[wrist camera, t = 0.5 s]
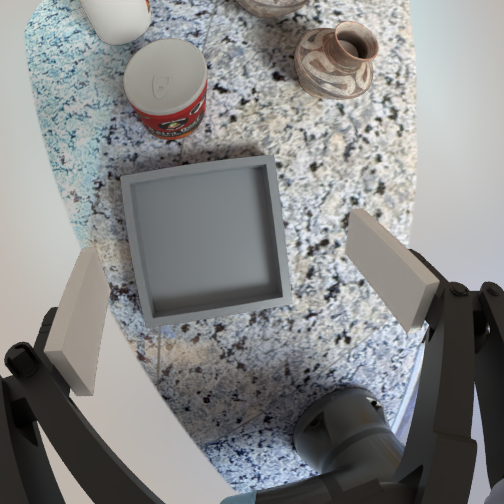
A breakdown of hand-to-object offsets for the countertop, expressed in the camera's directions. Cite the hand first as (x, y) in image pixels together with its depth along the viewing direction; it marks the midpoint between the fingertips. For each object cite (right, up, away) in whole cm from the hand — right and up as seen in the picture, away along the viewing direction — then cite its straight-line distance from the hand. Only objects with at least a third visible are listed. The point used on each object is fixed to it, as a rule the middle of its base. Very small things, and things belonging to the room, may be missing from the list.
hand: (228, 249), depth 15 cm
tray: (-4, +1, +21) cm, 21 cm away
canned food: (-8, +17, +19) cm, 26 cm away
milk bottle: (-16, +31, +16) cm, 38 cm away
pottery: (+6, +29, +20) cm, 36 cm away
